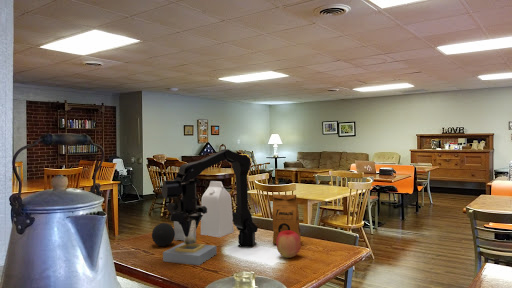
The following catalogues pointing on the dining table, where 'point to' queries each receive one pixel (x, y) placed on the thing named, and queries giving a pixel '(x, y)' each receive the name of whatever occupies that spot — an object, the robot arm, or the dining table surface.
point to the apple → (288, 243)
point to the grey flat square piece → (189, 253)
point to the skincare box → (178, 232)
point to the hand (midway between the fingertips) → (190, 234)
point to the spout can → (191, 233)
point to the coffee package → (285, 215)
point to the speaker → (163, 234)
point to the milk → (216, 211)
